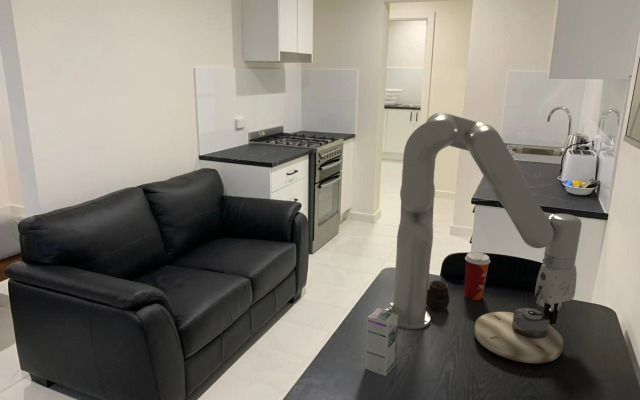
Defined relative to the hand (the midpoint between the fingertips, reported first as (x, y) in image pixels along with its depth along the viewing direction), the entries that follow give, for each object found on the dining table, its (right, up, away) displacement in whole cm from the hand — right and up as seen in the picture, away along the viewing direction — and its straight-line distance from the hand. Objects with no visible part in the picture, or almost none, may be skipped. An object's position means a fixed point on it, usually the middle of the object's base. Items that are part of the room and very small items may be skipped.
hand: (549, 321), depth 132 cm
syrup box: (-48, -8, -14) cm, 51 cm away
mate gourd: (-27, 0, +16) cm, 31 cm away
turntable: (-10, -4, -3) cm, 11 cm away
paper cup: (-13, +2, +24) cm, 28 cm away
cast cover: (-6, -2, -2) cm, 7 cm away
